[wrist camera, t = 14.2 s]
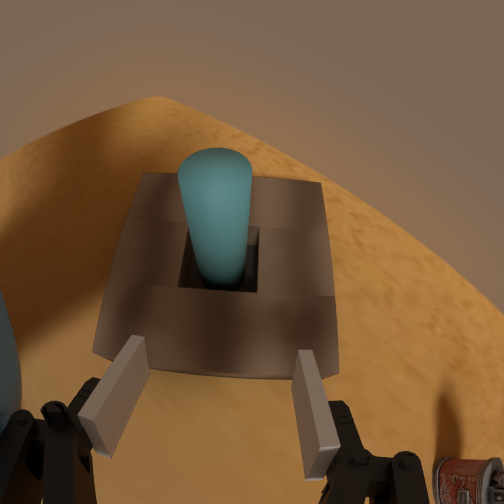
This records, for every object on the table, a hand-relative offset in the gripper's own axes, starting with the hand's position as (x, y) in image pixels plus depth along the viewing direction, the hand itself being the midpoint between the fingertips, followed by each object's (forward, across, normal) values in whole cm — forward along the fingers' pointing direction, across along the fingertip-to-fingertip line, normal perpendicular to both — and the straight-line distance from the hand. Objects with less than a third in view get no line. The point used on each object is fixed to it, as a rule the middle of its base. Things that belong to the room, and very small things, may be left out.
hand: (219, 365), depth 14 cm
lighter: (-4, +22, -16) cm, 27 cm away
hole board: (+12, -1, +1) cm, 12 cm away
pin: (+11, -1, +1) cm, 11 cm away
